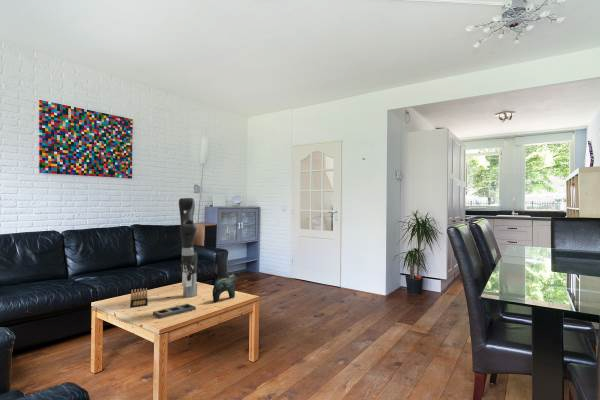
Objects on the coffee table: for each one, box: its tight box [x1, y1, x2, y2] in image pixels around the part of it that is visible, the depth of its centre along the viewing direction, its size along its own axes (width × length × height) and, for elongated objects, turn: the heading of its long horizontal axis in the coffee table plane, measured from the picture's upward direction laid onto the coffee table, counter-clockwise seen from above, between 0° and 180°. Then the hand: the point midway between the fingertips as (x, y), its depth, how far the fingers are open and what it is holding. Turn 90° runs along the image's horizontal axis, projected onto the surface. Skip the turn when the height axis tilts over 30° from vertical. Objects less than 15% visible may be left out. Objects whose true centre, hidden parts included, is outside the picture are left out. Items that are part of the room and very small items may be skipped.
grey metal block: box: [181, 272, 192, 287], centre depth 221 cm, size 4×4×9 cm
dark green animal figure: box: [212, 271, 237, 303], centre depth 245 cm, size 20×6×20 cm, turn 141°
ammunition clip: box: [129, 287, 149, 309], centre depth 225 cm, size 11×2×12 cm, turn 124°
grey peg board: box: [152, 303, 197, 319], centre depth 214 cm, size 24×10×2 cm, turn 140°
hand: (187, 280), depth 221 cm, fingers closed on grey metal block, 4 cm apart
